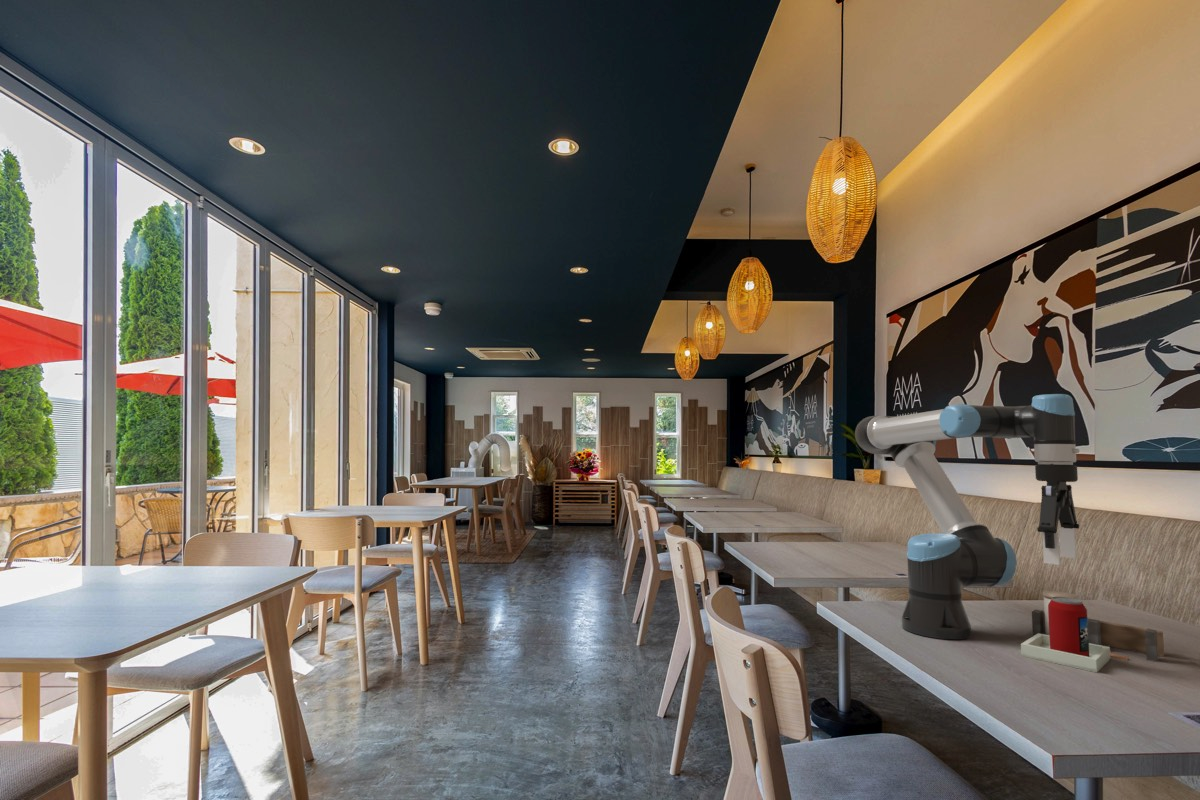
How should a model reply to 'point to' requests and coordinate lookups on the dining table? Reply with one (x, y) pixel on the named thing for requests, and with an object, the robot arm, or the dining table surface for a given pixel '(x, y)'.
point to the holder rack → (1115, 636)
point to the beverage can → (1068, 626)
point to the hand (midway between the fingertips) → (1060, 560)
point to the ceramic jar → (1047, 599)
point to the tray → (1065, 654)
